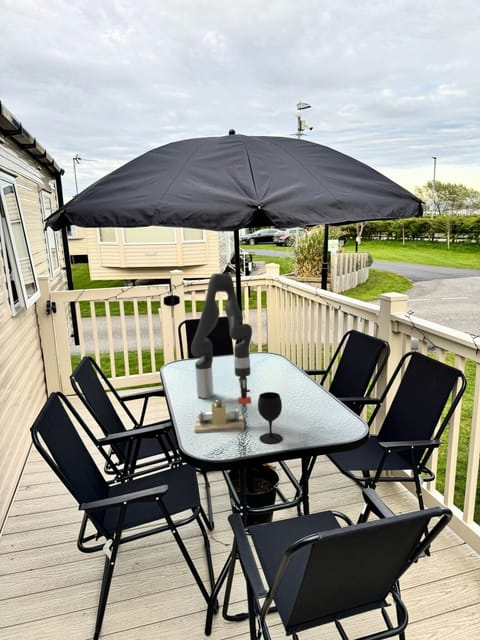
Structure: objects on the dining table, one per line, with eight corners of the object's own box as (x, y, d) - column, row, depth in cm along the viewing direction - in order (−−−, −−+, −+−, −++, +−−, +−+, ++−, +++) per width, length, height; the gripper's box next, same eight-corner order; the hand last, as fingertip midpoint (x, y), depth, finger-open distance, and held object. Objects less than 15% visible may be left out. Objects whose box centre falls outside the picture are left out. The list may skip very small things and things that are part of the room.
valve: (200, 419, 208) (199, 404, 206) (239, 417, 208) (238, 402, 207) (199, 425, 201) (198, 409, 200) (239, 423, 202) (238, 407, 200)
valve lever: (215, 406, 201) (215, 401, 201) (215, 404, 205) (214, 398, 204) (251, 403, 203) (251, 398, 202) (250, 401, 206) (250, 396, 206)
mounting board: (196, 419, 212) (196, 416, 212) (243, 416, 212) (242, 414, 212) (194, 432, 197) (194, 429, 197) (244, 429, 198) (244, 426, 197)
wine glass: (255, 436, 191) (253, 393, 187) (276, 431, 194) (275, 389, 191) (265, 446, 181) (263, 401, 177) (287, 441, 185) (285, 397, 181)
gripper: (251, 369, 198) (252, 404, 201) (249, 360, 211) (250, 394, 214) (235, 370, 197) (236, 405, 201) (233, 361, 210) (235, 395, 214)
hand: (243, 399), depth 207 cm, fingers closed
